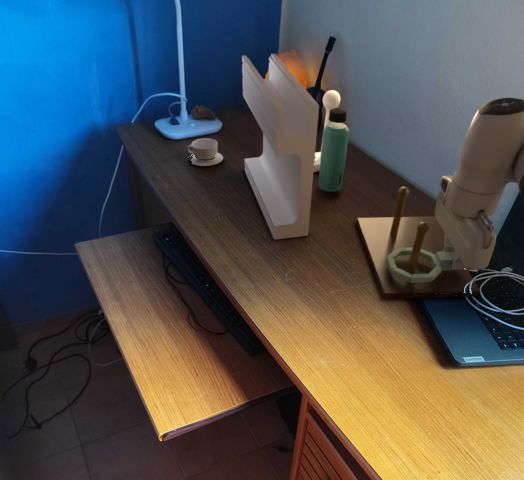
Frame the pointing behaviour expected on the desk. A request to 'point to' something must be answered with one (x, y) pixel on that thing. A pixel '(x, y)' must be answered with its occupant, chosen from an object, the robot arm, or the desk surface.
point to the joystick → (327, 118)
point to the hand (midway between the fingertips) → (451, 261)
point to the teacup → (205, 152)
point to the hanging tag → (438, 261)
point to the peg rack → (410, 235)
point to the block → (282, 147)
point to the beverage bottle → (334, 151)
